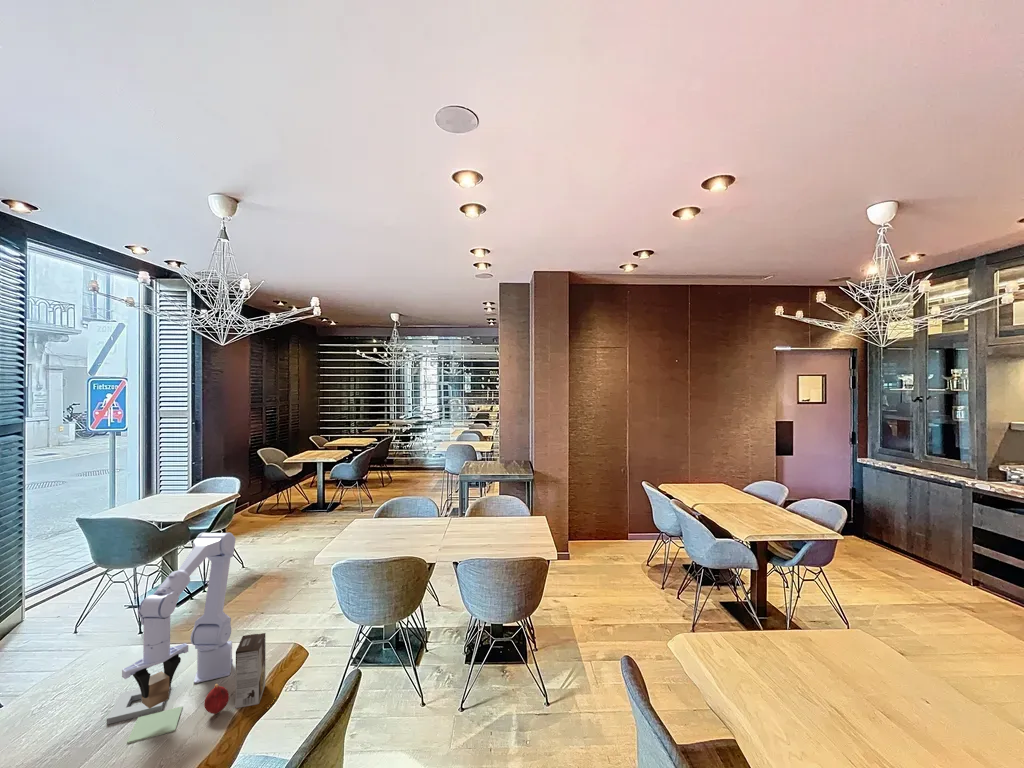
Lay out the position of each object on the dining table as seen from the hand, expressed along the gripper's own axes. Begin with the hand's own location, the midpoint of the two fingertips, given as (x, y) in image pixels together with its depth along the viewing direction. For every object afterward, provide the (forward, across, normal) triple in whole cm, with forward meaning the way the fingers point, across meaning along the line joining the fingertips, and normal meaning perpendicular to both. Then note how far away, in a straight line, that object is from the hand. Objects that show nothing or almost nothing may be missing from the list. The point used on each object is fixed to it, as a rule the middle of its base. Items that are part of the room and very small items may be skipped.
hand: (156, 691), depth 124 cm
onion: (+9, -11, +10) cm, 17 cm away
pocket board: (+9, -2, -13) cm, 16 cm away
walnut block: (+3, 0, 0) cm, 3 cm away
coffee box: (+9, -20, +10) cm, 24 cm away
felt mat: (+9, 0, 0) cm, 9 cm away
